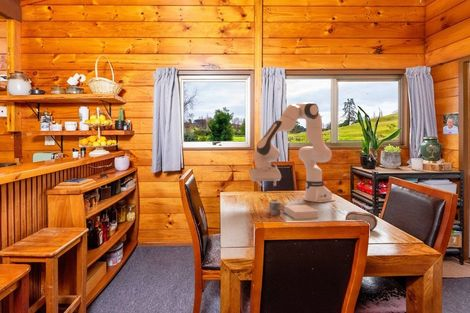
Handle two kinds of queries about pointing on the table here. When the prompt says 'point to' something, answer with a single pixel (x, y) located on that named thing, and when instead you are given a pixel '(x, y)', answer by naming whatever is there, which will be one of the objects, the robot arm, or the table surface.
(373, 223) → the grey rounded slab
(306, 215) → the riser
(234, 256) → the table surface
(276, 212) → the block
